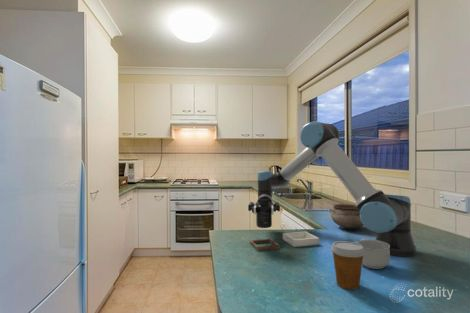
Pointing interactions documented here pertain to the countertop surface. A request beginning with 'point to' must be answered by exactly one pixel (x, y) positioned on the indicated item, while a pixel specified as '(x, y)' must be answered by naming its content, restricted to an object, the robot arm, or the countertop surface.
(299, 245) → the cream tray
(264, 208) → the supplement bottle
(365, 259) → the teacup
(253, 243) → the walnut collar
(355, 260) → the disposable coffee cup
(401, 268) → the countertop surface
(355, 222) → the cooking pot
